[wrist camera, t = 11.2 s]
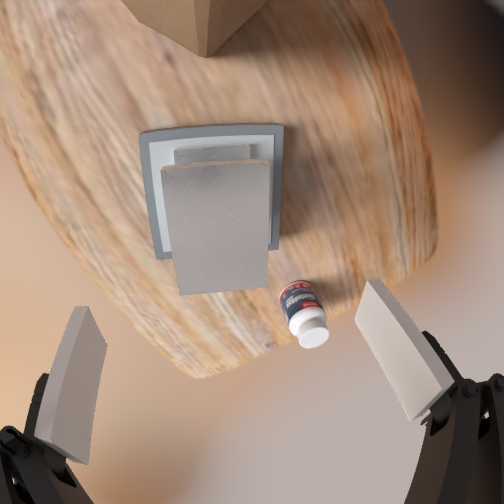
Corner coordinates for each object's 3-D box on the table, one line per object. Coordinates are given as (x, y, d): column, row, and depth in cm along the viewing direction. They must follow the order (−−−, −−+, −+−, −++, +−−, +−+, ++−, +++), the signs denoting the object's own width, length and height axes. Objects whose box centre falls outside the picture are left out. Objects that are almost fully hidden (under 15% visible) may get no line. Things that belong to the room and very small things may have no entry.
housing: (184, 240, 29) (180, 295, 21) (174, 148, 24) (160, 170, 16) (248, 235, 30) (266, 287, 22) (248, 143, 25) (269, 162, 17)
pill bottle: (308, 274, 38) (332, 317, 31) (315, 299, 41) (337, 341, 33) (273, 288, 38) (290, 334, 31) (283, 312, 41) (300, 356, 34)
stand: (145, 131, 25) (138, 134, 22) (276, 123, 27) (284, 125, 24) (159, 246, 32) (156, 260, 29) (272, 237, 34) (278, 250, 31)
